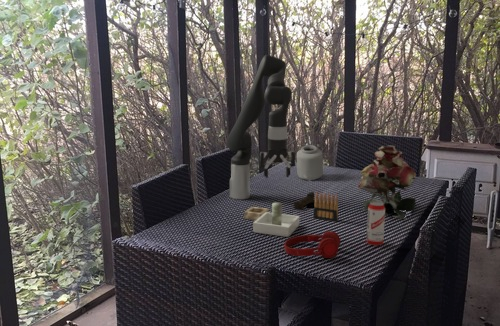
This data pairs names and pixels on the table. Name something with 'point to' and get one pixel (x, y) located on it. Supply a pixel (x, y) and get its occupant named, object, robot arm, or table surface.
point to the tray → (267, 227)
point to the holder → (254, 213)
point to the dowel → (277, 214)
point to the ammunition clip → (326, 208)
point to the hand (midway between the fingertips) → (277, 177)
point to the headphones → (325, 247)
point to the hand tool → (304, 201)
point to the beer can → (375, 223)
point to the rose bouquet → (388, 180)
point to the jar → (309, 163)
